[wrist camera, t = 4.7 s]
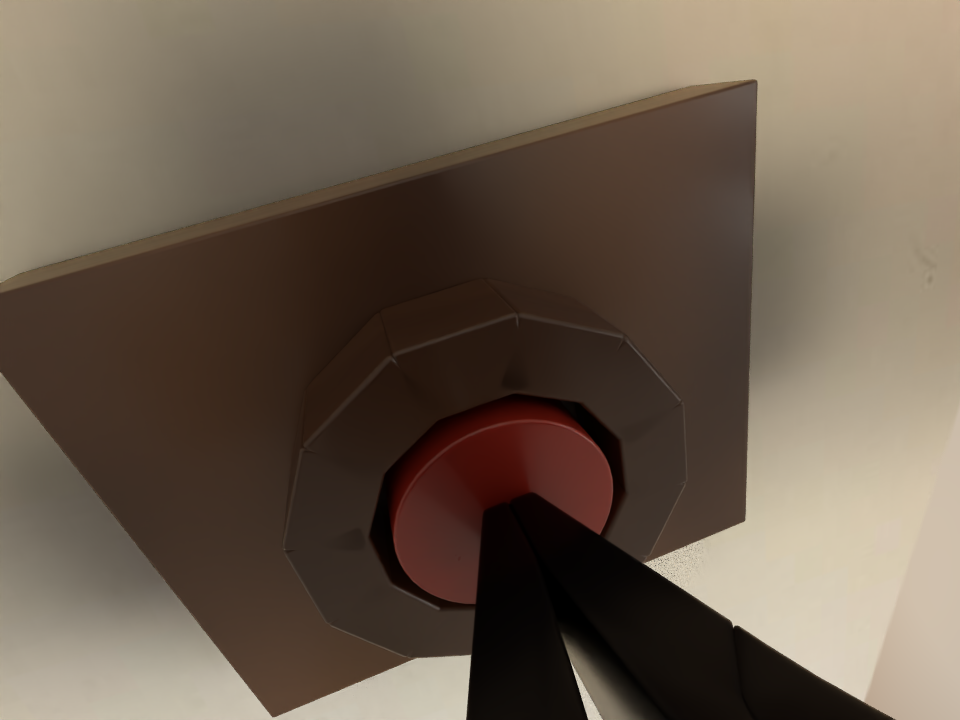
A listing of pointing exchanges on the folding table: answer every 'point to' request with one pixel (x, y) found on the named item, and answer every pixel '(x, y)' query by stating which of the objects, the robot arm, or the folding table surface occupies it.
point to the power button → (488, 484)
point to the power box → (404, 368)
